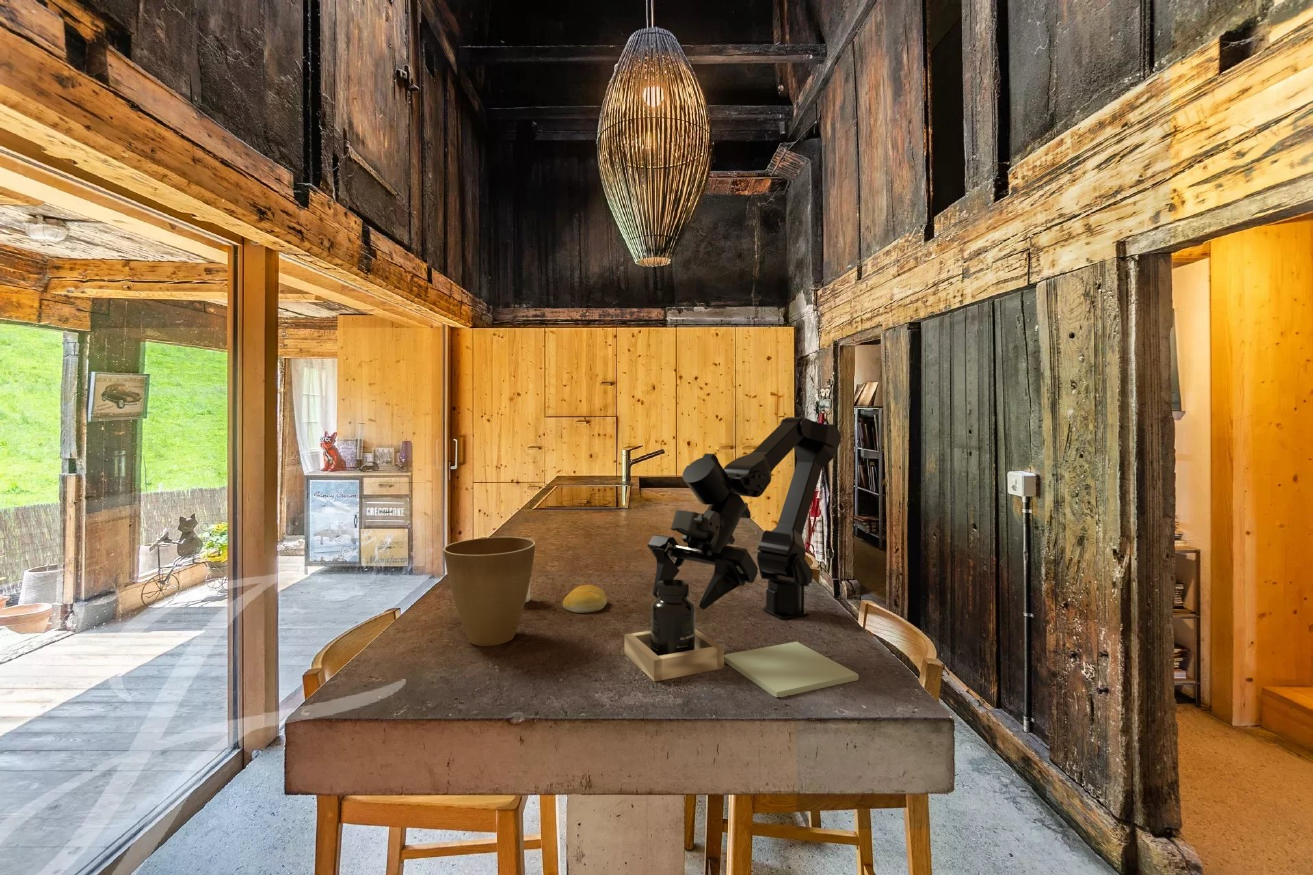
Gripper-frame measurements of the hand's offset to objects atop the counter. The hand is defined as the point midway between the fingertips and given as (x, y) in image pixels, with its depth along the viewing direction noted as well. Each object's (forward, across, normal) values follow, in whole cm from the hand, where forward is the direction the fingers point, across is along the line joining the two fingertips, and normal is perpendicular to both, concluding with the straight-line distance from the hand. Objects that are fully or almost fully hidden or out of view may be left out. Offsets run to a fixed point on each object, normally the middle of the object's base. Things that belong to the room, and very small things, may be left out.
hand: (677, 602), depth 92 cm
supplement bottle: (+7, 0, +6) cm, 9 cm away
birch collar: (+7, 0, +5) cm, 9 cm away
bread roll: (0, -31, +13) cm, 33 cm away
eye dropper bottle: (+5, -43, +7) cm, 44 cm away
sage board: (+1, +15, +11) cm, 19 cm away
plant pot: (+16, -29, -3) cm, 34 cm away
